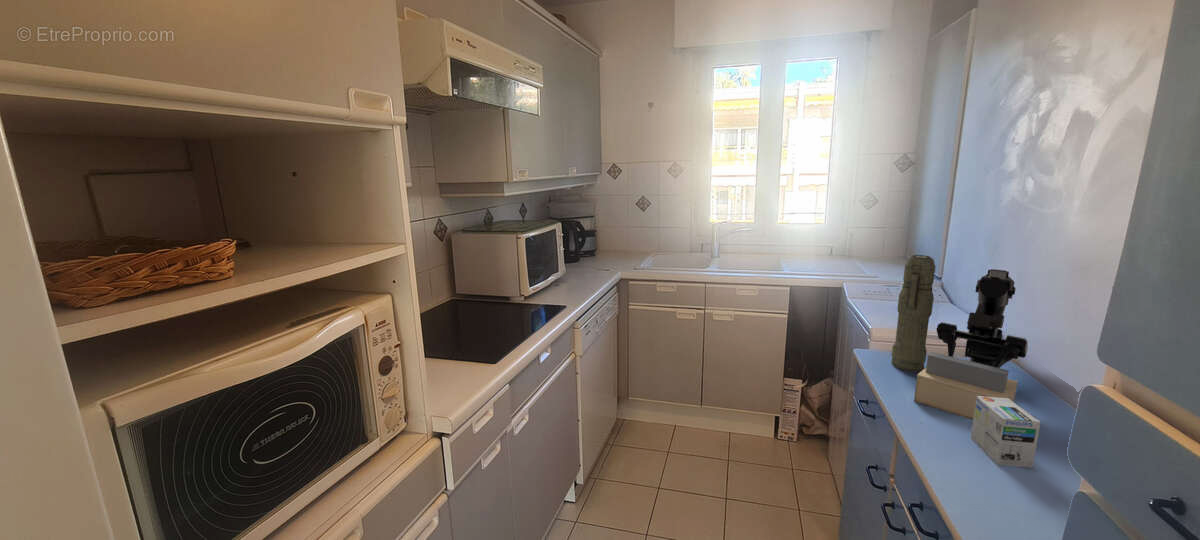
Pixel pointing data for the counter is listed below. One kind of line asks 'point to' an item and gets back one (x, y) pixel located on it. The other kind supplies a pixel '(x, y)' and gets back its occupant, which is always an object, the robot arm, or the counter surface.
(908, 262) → the thermos
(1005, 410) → the light bulb box
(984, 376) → the grey stone
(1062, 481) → the counter surface
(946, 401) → the carton
